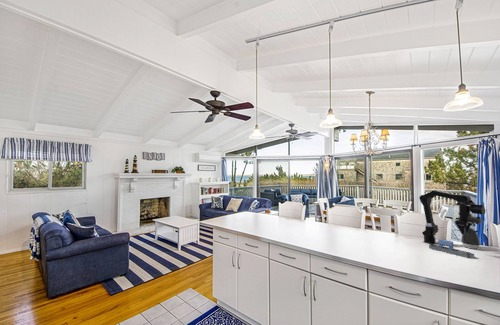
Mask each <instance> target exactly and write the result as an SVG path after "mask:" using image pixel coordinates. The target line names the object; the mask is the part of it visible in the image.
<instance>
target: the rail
mask: <svg viewBox="0 0 500 325" xmlns="http://www.w3.org/2000/svg"><path fill="white" fill-rule="evenodd" d="M428 248H429V249H430V250H432V251H436V252H441V251H442V253H445V252H446V253H445V254H450V255H454V256H458V257H463V258H466V259H468V258H469V259H472V260H473V259H474V258H475V253H473V252H469V251H464V250H460V249H456V248H453V249H452V248H449V246H444V245H443V246H439V244H430V243H429V244H428Z"/></svg>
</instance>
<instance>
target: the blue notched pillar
mask: <svg viewBox="0 0 500 325" xmlns="http://www.w3.org/2000/svg"><path fill="white" fill-rule="evenodd" d="M437 240H438V244H437V245H439V246H443V247H444V246H446V247H448V248H452V249H454V241H452V240H447V239H446V240H445V239H442V238H439V239H437Z"/></svg>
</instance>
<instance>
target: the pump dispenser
mask: <svg viewBox="0 0 500 325" xmlns="http://www.w3.org/2000/svg"><path fill="white" fill-rule="evenodd" d="M479 231H480V230H475V229H474V228H471V227H470V229H469V232H468V233H467V232H466V231H465V232H464V234H462V233H461V243H462V245H463V246H464V247H465V248H467V249H472V250H476V249H479V248H480V246H481V242H480V238H479V236H478V233H479Z"/></svg>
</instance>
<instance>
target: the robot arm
mask: <svg viewBox="0 0 500 325" xmlns="http://www.w3.org/2000/svg"><path fill="white" fill-rule="evenodd" d="M436 196H437V197H440V198H445V199H449V200H453V201H455V202H457V203H455V206H458V210H459V211H458V215H459V216H458V217H459V218H458V219H457V220H455V221H454V224H455V225H456V227H457V229H458V230H459V232H460V233H461V235H462V234H464V232H465V231H466V232H467V233H468V232H469V229H470V228H471V226H473V225H474V224H475V225H481V223H482V221H483V220H482V218H481V216H484V215H485V214H486V209H485V206H484V204H477V203H475V202H474V201H473V200H472V198H471V196H470V195H469V194H457V193H456V194H455V193H454V194H453V193H451V192H450V193H449V192H445V191H441V190H431V191H429V192H427V193H425V194H421V195H419V198H418V199H419V201H420V203H421V204H422V207H423V210H424V217H425V221H426V222H425V223H426V224H425V229H424V231H422V232H421V233H422V235H423V243H425V244H426V243H427V244H429V245H430V244H432V245H435V244H436V243H437V242H436V237H435V236H436V234H437V233H438V232H439V226H438V224H435V221H434V217H433V211H432V207H431V205H432V199H434V197H436ZM473 214H477V215H481V216H473Z"/></svg>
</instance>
